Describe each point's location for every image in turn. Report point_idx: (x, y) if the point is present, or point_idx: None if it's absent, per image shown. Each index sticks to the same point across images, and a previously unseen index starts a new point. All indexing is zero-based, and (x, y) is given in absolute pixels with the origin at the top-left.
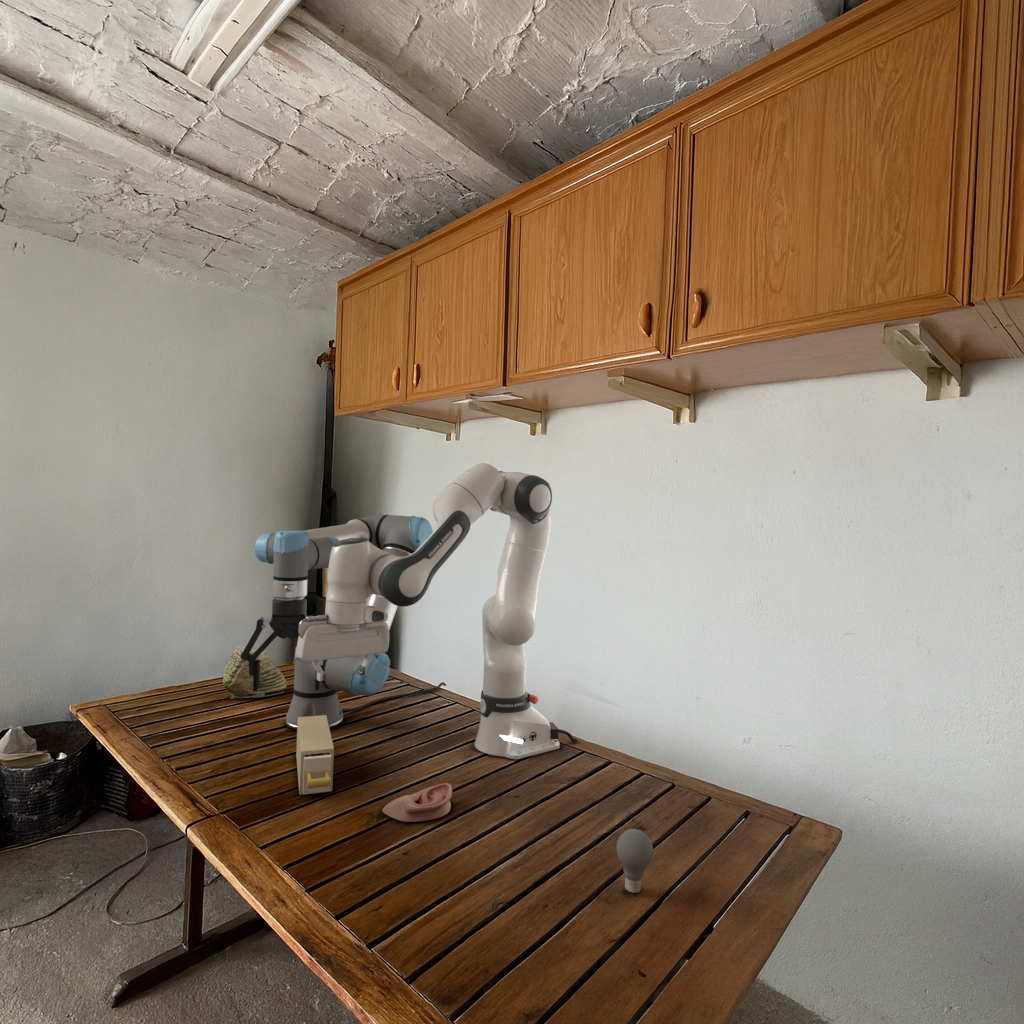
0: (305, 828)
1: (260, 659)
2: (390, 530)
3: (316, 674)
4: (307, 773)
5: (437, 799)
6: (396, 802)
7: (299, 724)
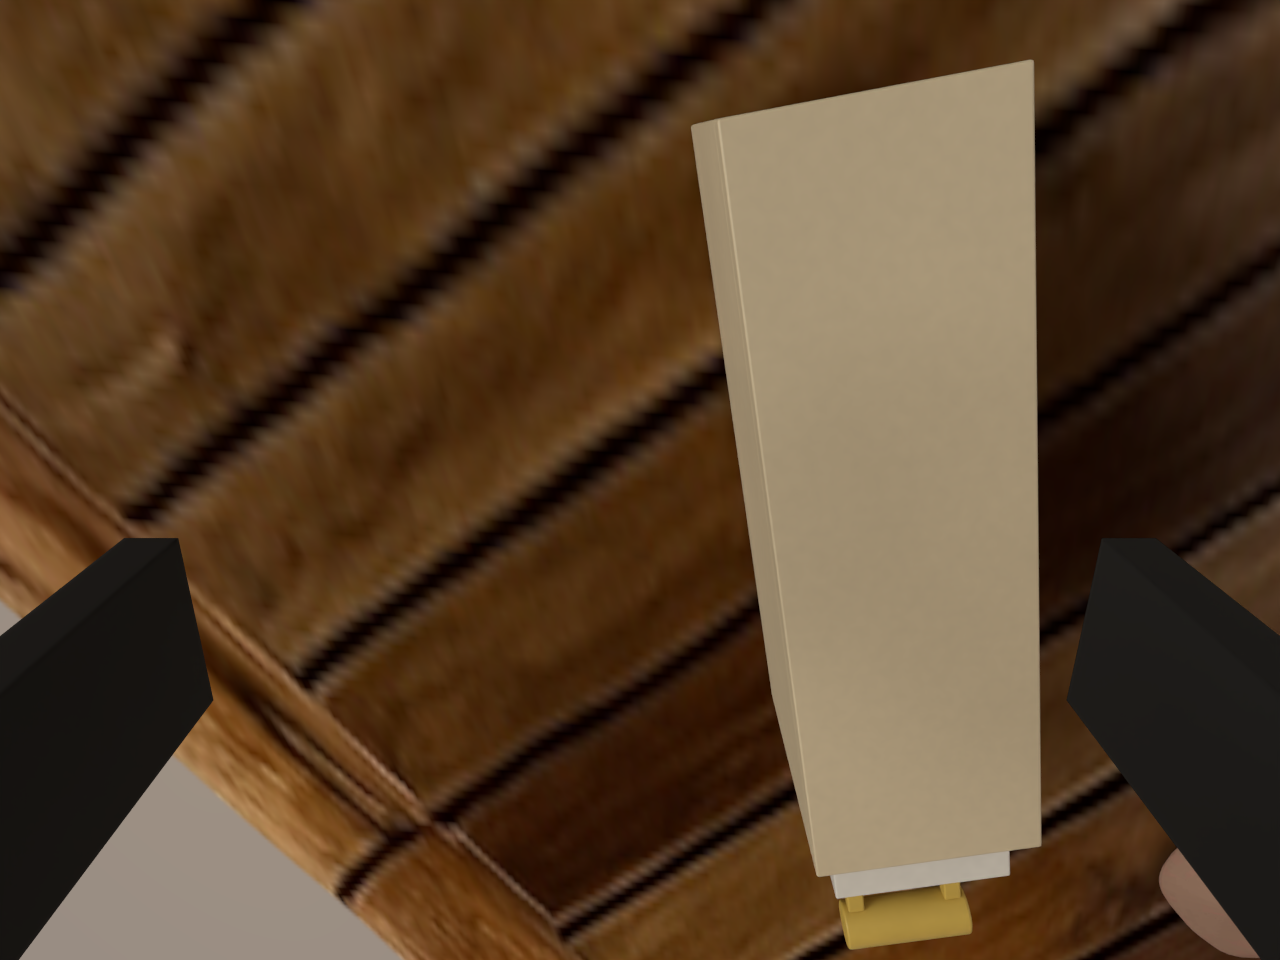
0: (821, 948)
1: None
2: None
3: (1229, 896)
4: None
5: None
6: None
7: (757, 349)
